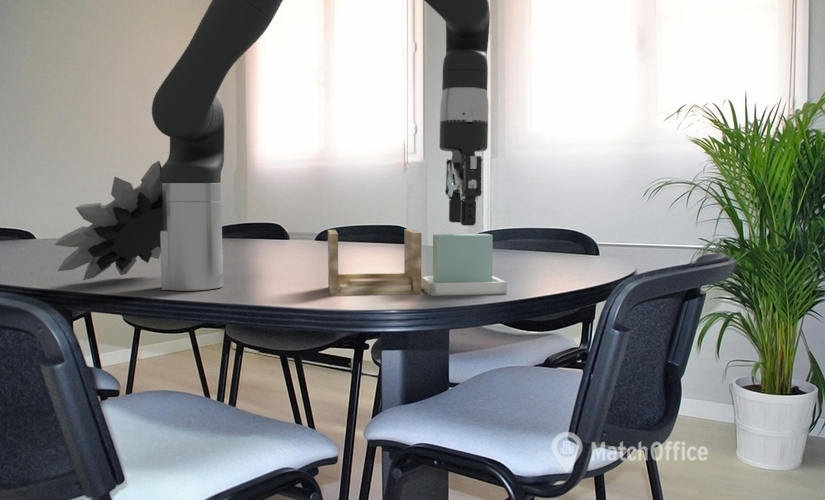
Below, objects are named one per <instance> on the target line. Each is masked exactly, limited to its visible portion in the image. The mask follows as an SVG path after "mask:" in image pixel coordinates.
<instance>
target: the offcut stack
mask: <svg viewBox="0 0 825 500" xmlns="http://www.w3.org/2000/svg"><path fill="white" fill-rule="evenodd" d="M339 290H340V292H368V291H411V285H410V284H409V280H408V279H407V278H375V279H349V284H339Z"/></svg>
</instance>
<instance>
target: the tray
mask: <svg viewBox="0 0 825 500" xmlns="http://www.w3.org/2000/svg"><path fill="white" fill-rule="evenodd" d="M422 290H423V291H424V292H425V293H426V294H427V295H429V296H435V297H436V296H467V295H468V296H469V295H474V296H475V295H477V296H478V295H479V296H480V295H507V294H508V282H507V281H505V280H503V279H501V278H498V277H497V276H494V275H492V282H463V283H434V282H433V275H427V276H422V275H421V291H422ZM506 293H507V294H506Z"/></svg>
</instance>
